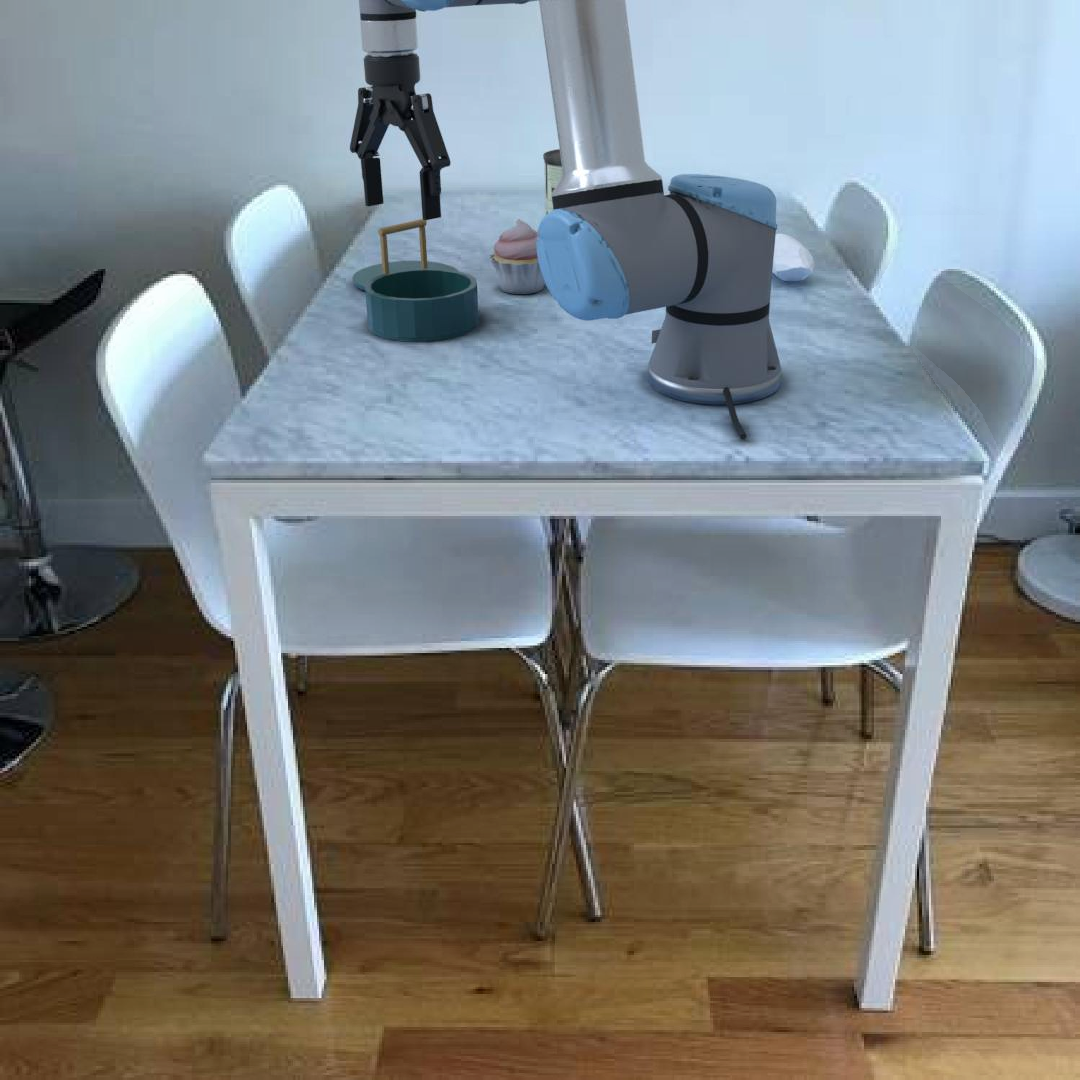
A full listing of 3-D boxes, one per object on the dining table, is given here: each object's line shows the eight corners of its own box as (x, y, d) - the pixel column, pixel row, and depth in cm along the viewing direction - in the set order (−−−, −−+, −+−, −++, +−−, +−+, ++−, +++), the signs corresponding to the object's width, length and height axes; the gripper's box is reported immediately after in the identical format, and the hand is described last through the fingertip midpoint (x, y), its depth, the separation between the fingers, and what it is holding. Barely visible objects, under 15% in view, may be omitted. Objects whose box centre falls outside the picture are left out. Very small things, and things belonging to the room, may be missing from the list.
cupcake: (514, 276, 184) (513, 208, 179) (566, 286, 179) (565, 216, 174) (476, 291, 177) (473, 221, 172) (528, 302, 172) (526, 230, 167)
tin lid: (480, 282, 181) (478, 223, 177) (395, 305, 172) (391, 242, 168) (415, 262, 191) (412, 206, 187) (332, 283, 182) (326, 223, 178)
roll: (780, 293, 174) (783, 253, 171) (757, 270, 185) (760, 232, 182) (821, 291, 175) (825, 251, 172) (796, 268, 185) (799, 231, 182)
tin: (500, 323, 164) (499, 283, 161) (413, 349, 155) (410, 307, 152) (432, 301, 173) (430, 262, 171) (346, 324, 165) (343, 284, 162)
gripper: (471, 56, 161) (478, 219, 170) (360, 45, 177) (372, 195, 187) (425, 61, 156) (436, 229, 166) (316, 50, 173) (331, 203, 182)
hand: (402, 211), depth 176 cm, fingers open, 13 cm apart
